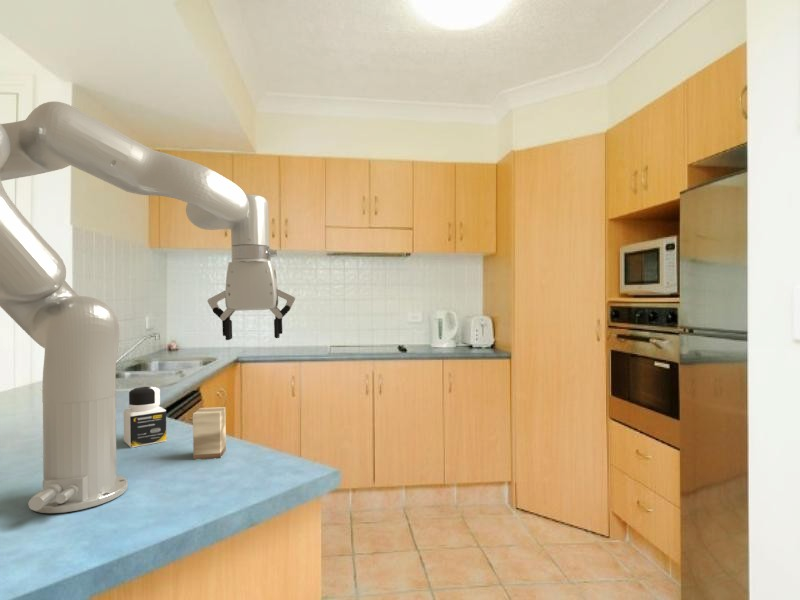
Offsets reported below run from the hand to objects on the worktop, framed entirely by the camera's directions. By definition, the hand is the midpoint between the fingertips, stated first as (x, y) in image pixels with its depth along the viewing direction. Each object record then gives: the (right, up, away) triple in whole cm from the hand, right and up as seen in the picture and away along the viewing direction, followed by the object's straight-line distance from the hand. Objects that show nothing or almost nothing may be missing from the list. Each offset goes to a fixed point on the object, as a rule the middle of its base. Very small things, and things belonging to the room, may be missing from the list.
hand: (253, 338), depth 96 cm
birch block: (-8, -23, -3) cm, 25 cm away
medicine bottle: (-27, -24, +8) cm, 37 cm away
